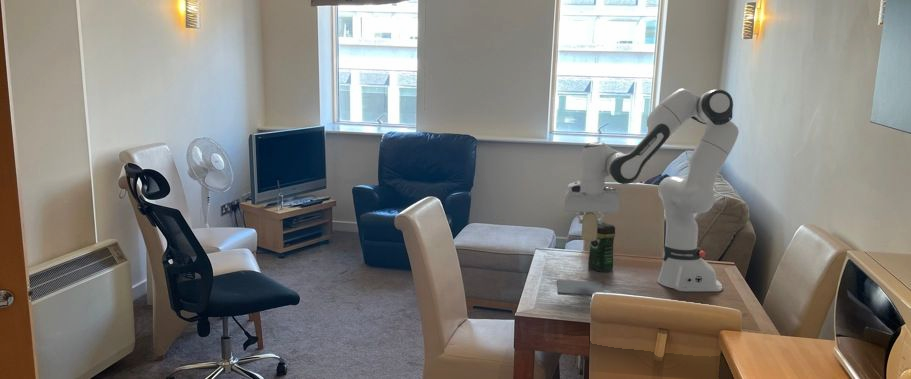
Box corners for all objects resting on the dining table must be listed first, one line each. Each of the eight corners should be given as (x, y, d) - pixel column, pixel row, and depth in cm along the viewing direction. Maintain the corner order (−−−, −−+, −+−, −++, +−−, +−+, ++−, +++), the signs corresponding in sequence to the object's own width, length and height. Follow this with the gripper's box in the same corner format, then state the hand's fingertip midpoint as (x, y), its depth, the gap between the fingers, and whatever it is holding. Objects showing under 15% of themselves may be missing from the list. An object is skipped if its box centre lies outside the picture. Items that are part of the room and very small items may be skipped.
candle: (596, 241, 254) (598, 215, 252) (581, 240, 255) (583, 213, 253) (596, 237, 259) (598, 211, 257) (581, 236, 260) (583, 210, 258)
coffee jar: (616, 271, 270) (619, 224, 266) (600, 273, 266) (603, 226, 263) (600, 264, 278) (603, 219, 275) (584, 266, 274) (587, 220, 271)
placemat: (601, 283, 254) (601, 282, 254) (604, 296, 240) (604, 295, 240) (557, 281, 256) (557, 279, 255) (558, 293, 242) (558, 292, 242)
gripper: (620, 186, 255) (617, 223, 257) (564, 184, 257) (562, 220, 260) (622, 189, 249) (619, 227, 251) (564, 187, 251) (562, 224, 254)
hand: (589, 223), depth 256 cm, fingers closed on candle, 5 cm apart
